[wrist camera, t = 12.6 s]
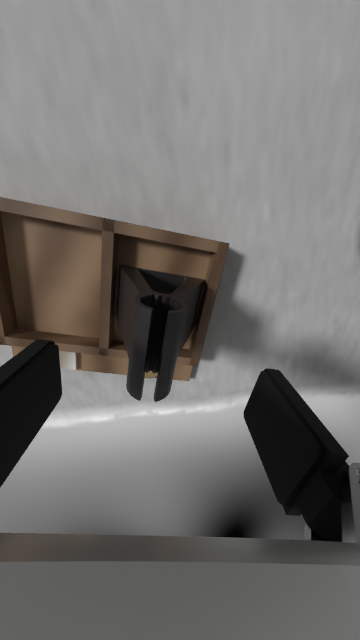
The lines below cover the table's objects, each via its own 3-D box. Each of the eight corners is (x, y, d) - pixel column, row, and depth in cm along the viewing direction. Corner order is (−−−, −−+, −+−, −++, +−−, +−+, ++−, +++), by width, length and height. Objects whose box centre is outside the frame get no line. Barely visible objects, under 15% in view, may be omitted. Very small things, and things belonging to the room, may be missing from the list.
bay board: (220, 242, 21) (229, 243, 18) (188, 376, 27) (190, 391, 25) (-6, 197, 18) (-37, 189, 15) (20, 359, 25) (1, 374, 22)
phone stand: (204, 279, 21) (246, 323, 10) (192, 327, 23) (216, 407, 12) (120, 264, 20) (65, 296, 9) (116, 317, 22) (68, 394, 11)
